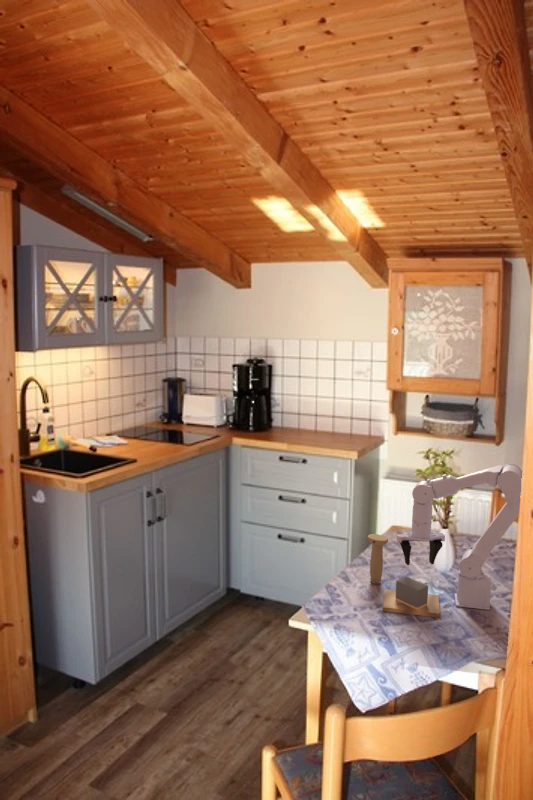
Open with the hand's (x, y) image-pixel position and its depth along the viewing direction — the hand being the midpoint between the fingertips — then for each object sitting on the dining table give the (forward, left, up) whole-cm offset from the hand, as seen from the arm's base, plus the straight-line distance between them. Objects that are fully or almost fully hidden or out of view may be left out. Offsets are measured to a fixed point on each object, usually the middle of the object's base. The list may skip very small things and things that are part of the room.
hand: (419, 563), depth 203 cm
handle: (+13, -4, -10) cm, 17 cm away
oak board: (+2, +9, -9) cm, 13 cm away
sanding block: (+2, +10, -8) cm, 13 cm away
